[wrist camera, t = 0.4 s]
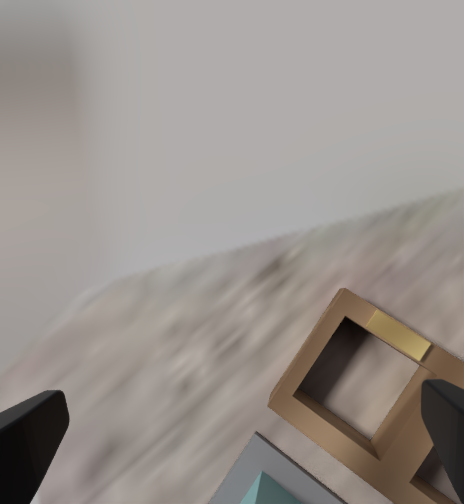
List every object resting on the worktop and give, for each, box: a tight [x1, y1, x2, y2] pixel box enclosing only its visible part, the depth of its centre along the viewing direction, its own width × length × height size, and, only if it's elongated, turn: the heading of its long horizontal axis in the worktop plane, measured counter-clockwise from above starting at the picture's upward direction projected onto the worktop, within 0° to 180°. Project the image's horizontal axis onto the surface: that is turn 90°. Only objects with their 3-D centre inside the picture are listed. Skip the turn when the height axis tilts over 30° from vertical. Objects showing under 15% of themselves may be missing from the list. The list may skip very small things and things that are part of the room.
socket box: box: [268, 288, 464, 504], centre depth 18 cm, size 14×8×3 cm, turn 56°
